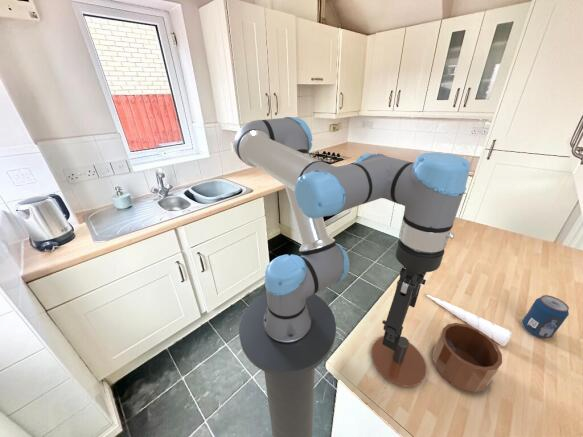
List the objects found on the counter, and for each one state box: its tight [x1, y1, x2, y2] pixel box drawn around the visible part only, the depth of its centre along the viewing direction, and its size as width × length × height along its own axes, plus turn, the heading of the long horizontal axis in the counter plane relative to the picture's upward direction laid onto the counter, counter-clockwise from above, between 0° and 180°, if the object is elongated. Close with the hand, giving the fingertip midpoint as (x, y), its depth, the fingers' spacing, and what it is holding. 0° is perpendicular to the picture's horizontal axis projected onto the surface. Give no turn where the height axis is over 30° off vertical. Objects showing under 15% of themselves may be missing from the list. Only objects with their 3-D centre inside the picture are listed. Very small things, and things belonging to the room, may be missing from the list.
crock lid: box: [371, 336, 427, 388], centre depth 65 cm, size 14×14×9 cm
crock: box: [432, 322, 503, 393], centre depth 63 cm, size 13×13×10 cm
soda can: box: [521, 294, 570, 340], centre depth 71 cm, size 7×7×12 cm
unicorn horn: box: [426, 294, 513, 347], centre depth 78 cm, size 5×24×5 cm, turn 32°
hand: (399, 323), depth 53 cm, fingers open, 13 cm apart
